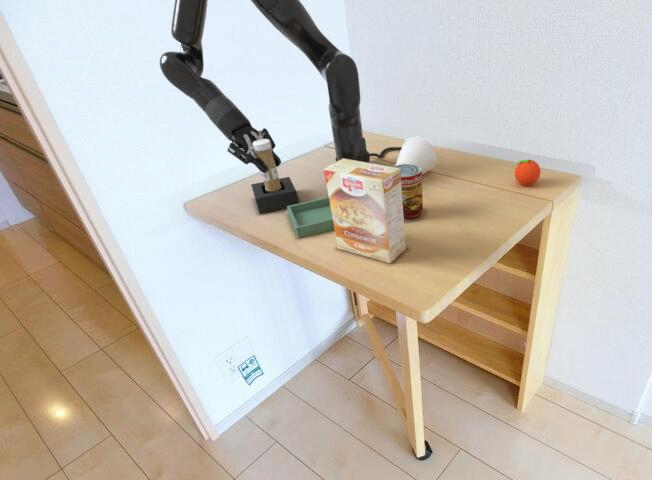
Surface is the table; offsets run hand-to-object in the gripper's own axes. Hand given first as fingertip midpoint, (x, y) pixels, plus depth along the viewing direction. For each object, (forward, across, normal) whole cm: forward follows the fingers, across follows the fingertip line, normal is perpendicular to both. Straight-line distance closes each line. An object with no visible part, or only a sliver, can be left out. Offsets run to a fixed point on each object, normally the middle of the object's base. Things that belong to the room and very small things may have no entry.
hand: (273, 167), depth 118 cm
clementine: (+49, +35, -34) cm, 70 cm away
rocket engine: (+26, +26, -10) cm, 38 cm away
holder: (+6, 0, +9) cm, 11 cm away
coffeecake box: (+34, -11, -19) cm, 40 cm away
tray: (+20, -4, -5) cm, 21 cm away
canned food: (+34, +7, -19) cm, 39 cm away
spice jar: (+3, 0, +6) cm, 7 cm away
